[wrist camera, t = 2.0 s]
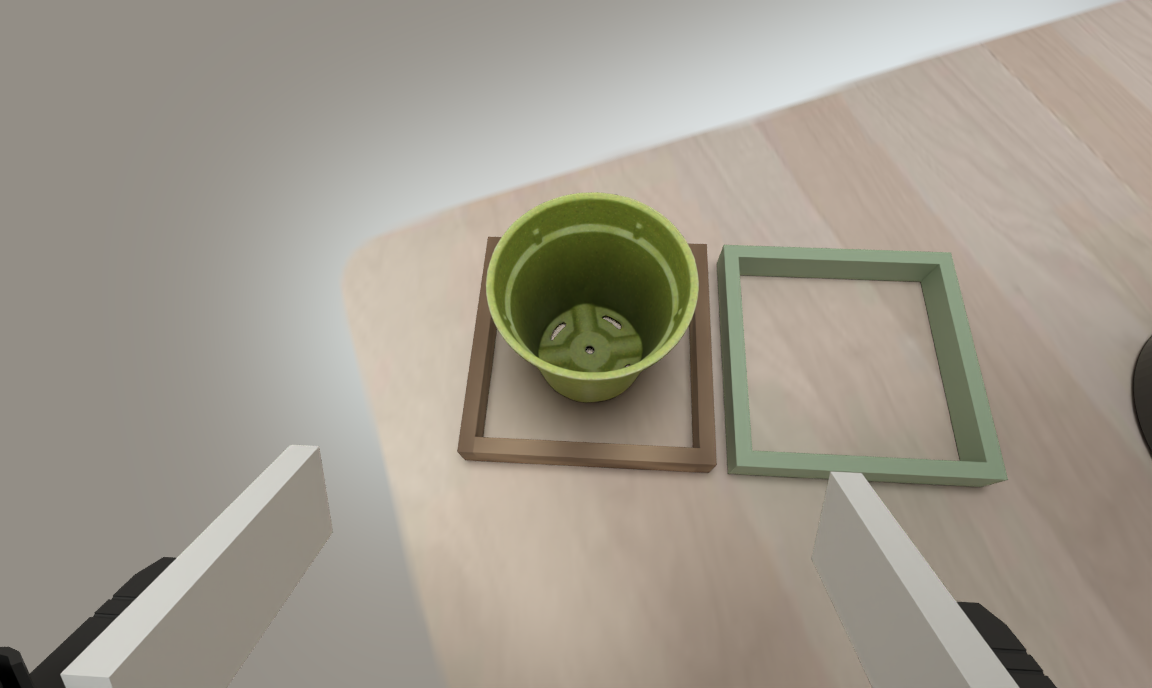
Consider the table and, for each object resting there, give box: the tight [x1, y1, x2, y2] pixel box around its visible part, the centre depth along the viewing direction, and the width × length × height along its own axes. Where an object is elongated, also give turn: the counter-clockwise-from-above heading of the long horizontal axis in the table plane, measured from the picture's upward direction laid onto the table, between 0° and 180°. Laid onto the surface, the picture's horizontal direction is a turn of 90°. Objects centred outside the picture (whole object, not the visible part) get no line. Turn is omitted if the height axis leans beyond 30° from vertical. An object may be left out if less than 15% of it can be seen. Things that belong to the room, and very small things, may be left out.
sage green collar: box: [717, 245, 1008, 487], centre depth 31 cm, size 13×13×2 cm
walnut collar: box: [457, 237, 717, 473], centre depth 32 cm, size 13×13×2 cm
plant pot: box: [486, 192, 699, 402], centre depth 29 cm, size 9×9×9 cm
